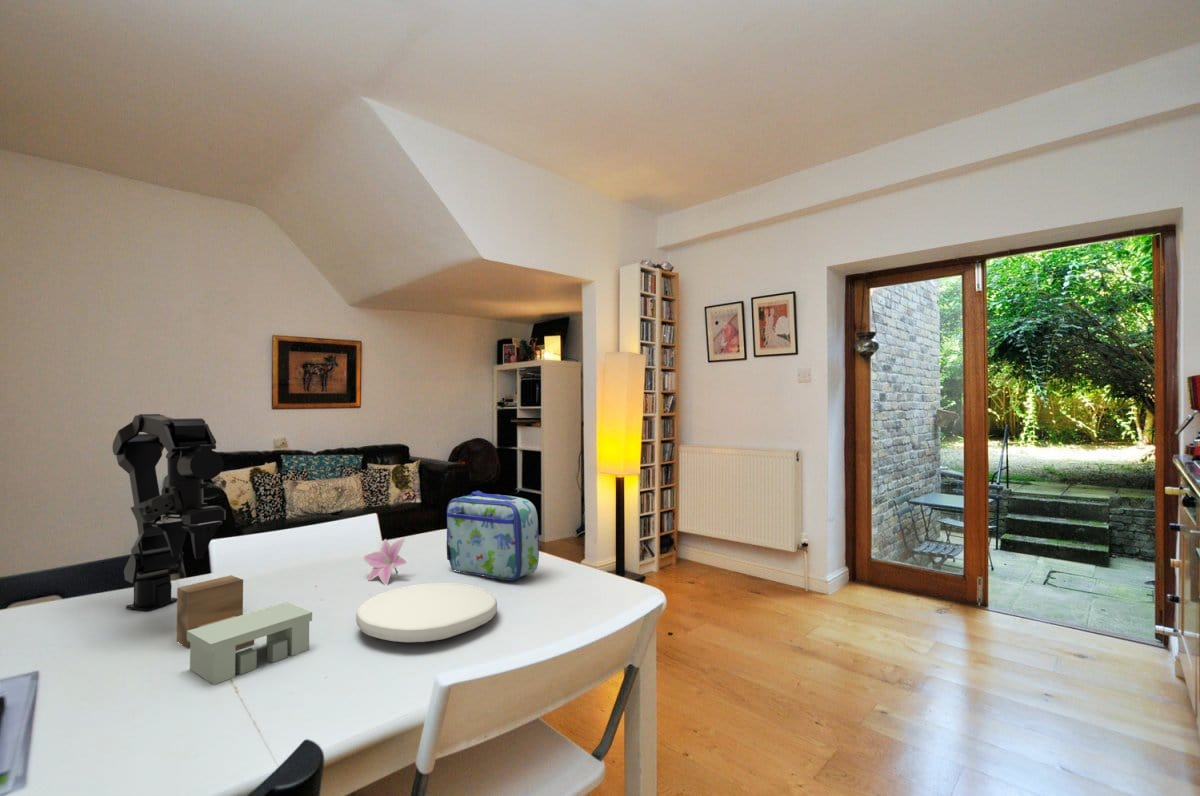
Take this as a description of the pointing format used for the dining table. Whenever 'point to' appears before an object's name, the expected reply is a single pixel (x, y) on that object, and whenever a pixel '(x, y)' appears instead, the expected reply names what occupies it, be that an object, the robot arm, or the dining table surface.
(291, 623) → the green miniature desk
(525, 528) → the lunch box
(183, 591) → the rectangular block
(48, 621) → the dining table surface
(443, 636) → the cream round disc
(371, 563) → the lily
